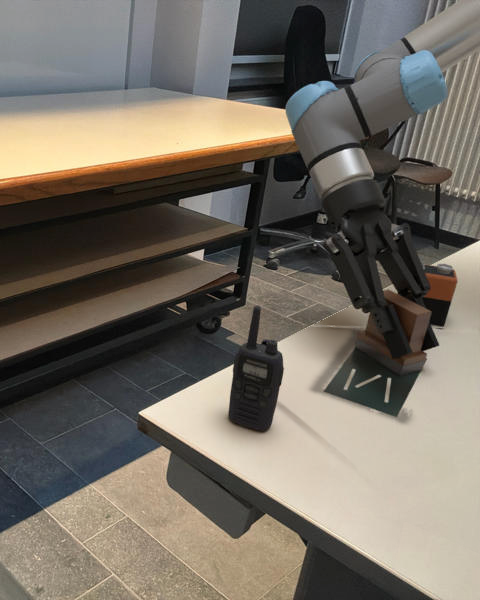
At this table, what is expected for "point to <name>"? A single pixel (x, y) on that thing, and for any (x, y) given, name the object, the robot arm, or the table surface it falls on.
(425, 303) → the battery
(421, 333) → the eraser
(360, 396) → the chalkboard
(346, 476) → the table surface
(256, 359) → the two-way radio
